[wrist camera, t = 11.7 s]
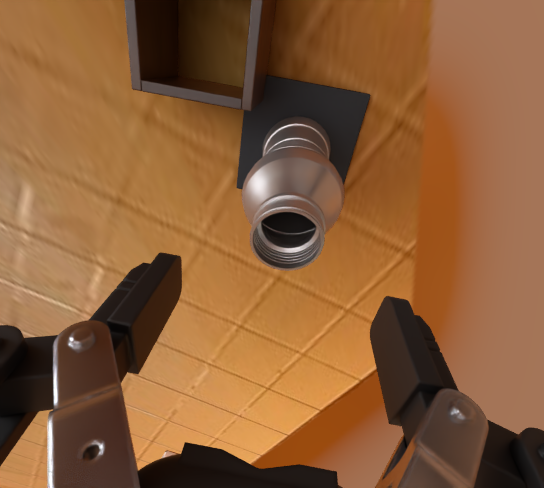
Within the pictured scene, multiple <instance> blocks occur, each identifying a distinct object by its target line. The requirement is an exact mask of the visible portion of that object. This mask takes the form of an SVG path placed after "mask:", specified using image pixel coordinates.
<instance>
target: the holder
mask: <svg viewBox="0 0 544 488" xmlns="http://www.w3.org/2000/svg"><path fill="white" fill-rule="evenodd" d="M275 8H276V0H252V1H251V12H250V22H249V33H248V44H247V54H246V65H245V76H244V87H243V88H241V87H236V86H230V85H225V84H220V83H214V82H209V81H204V80H198V79H193V78H188V77H182V76H178V1H177V0H125V12H126V23H127V35H128V46H129V58H130V70H131V81H132V89H133V90H138V91H143V92H149V93H154V94H159V95H165V96H170V97H175V98H181V99H186V100H192V101H197V102H202V103H208V104H213V105H218V106H224V107H229V108H234V109H240V110H241V109H242V110H245V111H252V110H253V109H254V108H255V107H256V106H257V105H259V104H260V103H261V102H262V101H263V97H264V89H265V81H266V75H267V70H268V62H269V54H270V46H271V39H272V31H273V23H274V15H275Z"/></svg>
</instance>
